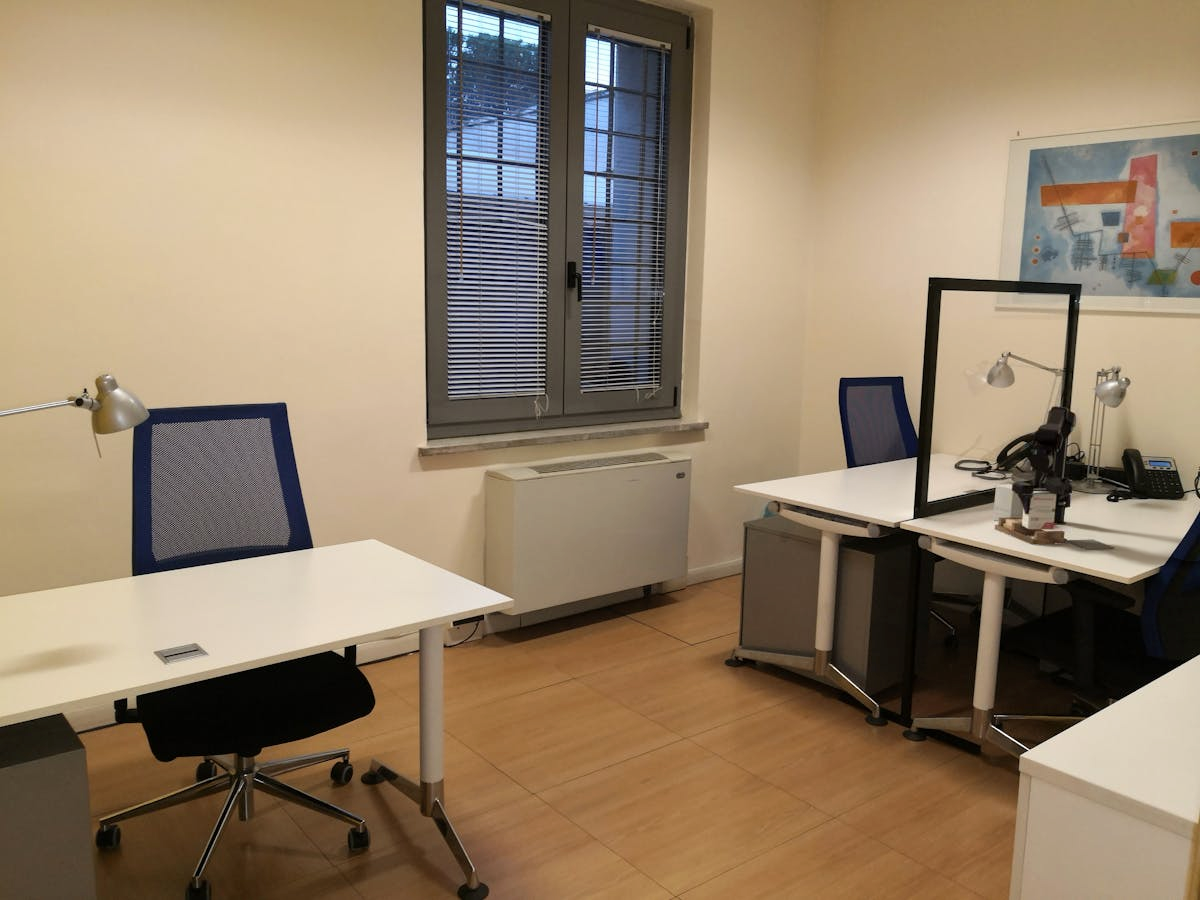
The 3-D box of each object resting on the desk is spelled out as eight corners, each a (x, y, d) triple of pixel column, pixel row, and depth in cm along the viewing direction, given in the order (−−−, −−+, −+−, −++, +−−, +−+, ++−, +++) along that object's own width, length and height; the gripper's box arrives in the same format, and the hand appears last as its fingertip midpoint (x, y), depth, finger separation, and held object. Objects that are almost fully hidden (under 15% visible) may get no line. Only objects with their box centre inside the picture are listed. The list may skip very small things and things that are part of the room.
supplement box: (1023, 522, 343) (1027, 487, 341) (1009, 524, 340) (1013, 488, 338) (1005, 518, 350) (1009, 483, 348) (991, 519, 346) (995, 484, 344)
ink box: (1046, 525, 323) (1050, 490, 321) (1053, 529, 318) (1057, 494, 316) (1020, 525, 323) (1024, 490, 320) (1027, 529, 318) (1031, 493, 316)
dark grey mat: (1092, 540, 320) (1092, 539, 320) (1114, 549, 311) (1114, 547, 311) (1066, 541, 318) (1066, 540, 318) (1087, 549, 309) (1087, 548, 309)
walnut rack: (1026, 528, 335) (1028, 516, 334) (1066, 543, 315) (1067, 531, 315) (994, 529, 332) (995, 517, 331) (1032, 544, 313) (1034, 532, 312)
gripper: (1035, 471, 306) (1029, 520, 309) (1086, 471, 311) (1081, 519, 313) (1013, 465, 317) (1008, 512, 320) (1063, 464, 321) (1058, 511, 324)
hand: (1039, 513), depth 319 cm, fingers closed on ink box, 9 cm apart
